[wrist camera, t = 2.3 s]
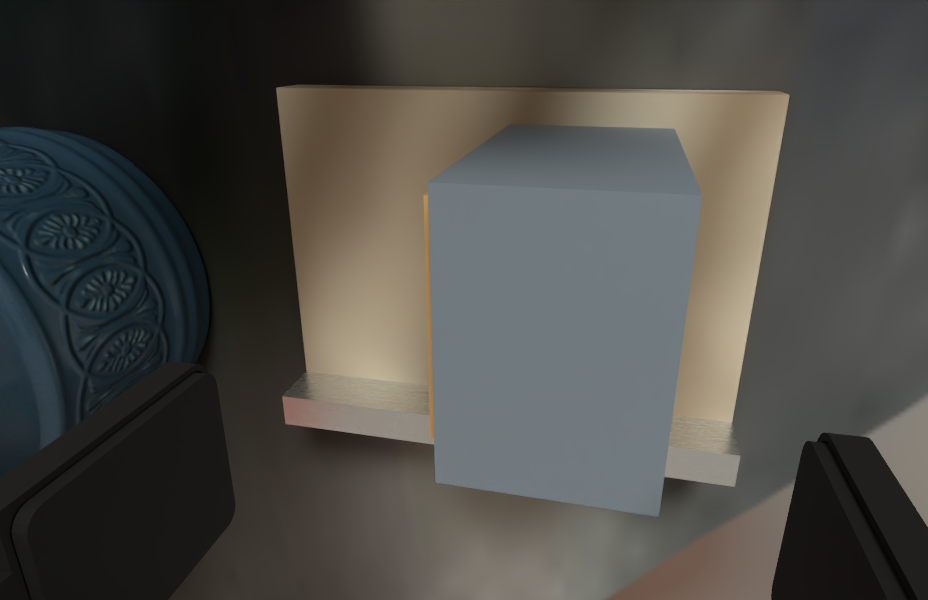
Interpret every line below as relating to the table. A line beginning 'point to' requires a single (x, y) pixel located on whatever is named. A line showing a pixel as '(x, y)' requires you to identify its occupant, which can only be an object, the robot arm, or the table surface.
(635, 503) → the carton
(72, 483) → the robot arm
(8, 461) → the canister
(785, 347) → the table surface
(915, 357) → the table surface
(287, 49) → the table surface
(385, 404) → the shelf board
